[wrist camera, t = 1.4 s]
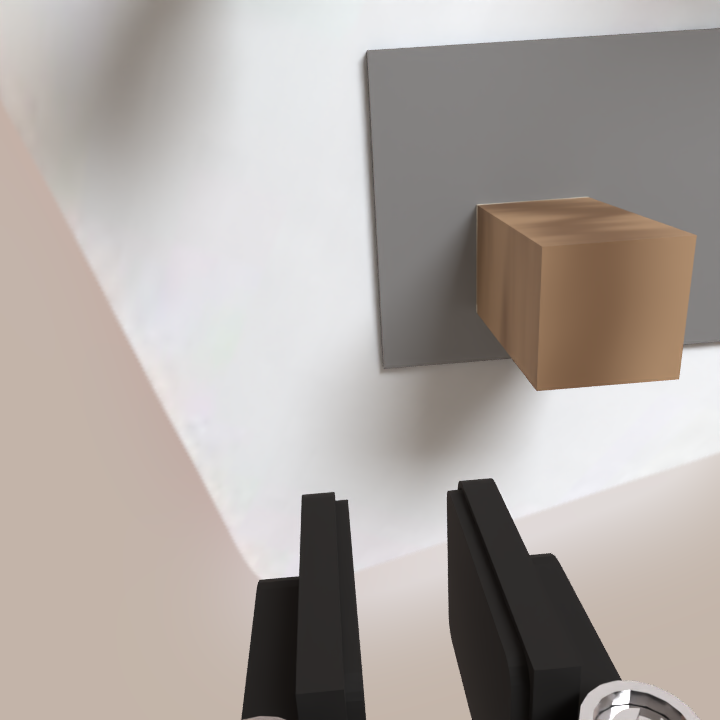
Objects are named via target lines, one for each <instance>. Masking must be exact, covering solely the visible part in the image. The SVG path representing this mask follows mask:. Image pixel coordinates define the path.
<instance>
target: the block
mask: <svg viewBox="0 0 720 720" xmlns="http://www.w3.org/2000/svg"><path fill="white" fill-rule="evenodd" d="M696 238H697V235H695V234H692V233H689V232H686V231H683V230H680V229H678V228H675V227H672V226H669V225H666V224H663V223H660V222H658V221H655V220H652V219H649V218H646V217H643V216H641V215H638V214H635V213H632V212H629V211H626V210H624V209H621V208H618V207H615V206H612V205H609V204H607V203H604V202H601V201H598V200H595V199H592V198H590V197H575V198H562V199H548V200H534V201H520V202H506V203H492V204H478V205H477V229H476V312H477V314H478V315H479V316H480V318H481V319H482V320H483V321H484V323H485V324H486V325H487V327H488V328H489V329H490V331H491V332H492V333H493V335H494V336H495V337H496V338H497V340H498V341H499V342H500V344H501V345H502V346H503V348H504V349H505V350H506V352H507V353H508V354H509V355H510V357H511V358H512V359H513V361H514V362H515V363H516V365H517V366H518V367H519V369H520V370H521V371H522V372H523V374H524V375H525V376H526V378H527V379H528V380H529V382H530V383H531V384H532V386H533V387H534V388H535V389H536V391H542V390H555V389H567V388H579V387H591V386H603V385H615V384H627V383H639V382H651V381H663V380H675V379H679V375H680V367H681V359H682V351H683V343H684V335H685V327H686V319H687V310H688V302H689V294H690V286H691V278H692V270H693V262H694V254H695V246H696Z"/></svg>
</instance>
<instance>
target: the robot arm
mask: <svg viewBox="0 0 720 720" xmlns="http://www.w3.org/2000/svg"><path fill="white" fill-rule="evenodd" d="M447 537H448V596H449V597H448V599H449V626H450V633H451V638H452V643H453V647H454V650H455V655H456V659H457V662H458V667H459V670H460V674H461V678H462V682H463V686H464V690H465V694H466V698H467V702H468V706H469V710H470V713H471V717H472V720H700V719H699V718H698V717H697V716H696V714H695V713H694V712H693V710H692V709H691V708H690V707H689V706H687V705H686V704H685V703H683V702H682V701H681V700H680V699H678V698H677V697H676V696H674V695H673V694H671V693H669V692H667V691H664V690H662V689H660V688H658V687H656V686H654V685H649V684H646V683H642V682H638V681H622V680H621V678H620V676H619V674H618V672H617V670H616V669H615V667H614V665H613V663H612V661H611V659H610V657H609V656H608V653H607V652H606V650H605V648H604V646H603V644H602V642H601V640H600V638H599V637H598V635H597V633H596V631H595V629H594V627H593V625H592V623H591V622H590V619H589V618H588V616H587V614H586V612H585V610H584V608H583V606H582V604H581V603H580V601H579V599H578V597H577V595H576V593H575V591H574V589H573V587H572V586H571V584H570V582H569V580H568V578H567V576H566V574H565V572H564V571H563V569H562V567H561V565H560V563H559V561H558V560H557V558H556V557H555V556H554V555H553V554H551V553H548V554H538V555H529V553H528V551H527V549H526V547H525V545H524V543H523V541H522V539H521V537H520V534H519V532H518V530H517V528H516V526H515V524H514V522H513V520H512V517H511V515H510V513H509V511H508V509H507V507H506V505H505V503H504V501H503V498H502V496H501V494H500V492H499V490H498V488H497V486H496V484H495V482H494V480H493V479H491V478H489V479H478V480H466V481H459V483H458V490H452V491H448V492H447ZM355 593H356V592H355V581H354V568H353V556H352V544H351V532H350V520H349V508H348V500H338V501H335V493H334V492H329V493H318V494H306V495H302V506H301V537H300V569H299V576H298V577H287V578H276V579H265V580H259V582H258V585H257V592H256V600H255V609H254V617H253V625H252V634H251V642H250V651H249V659H248V668H247V676H246V686H245V693H244V702H243V711H242V719H241V720H366V714H365V701H364V689H363V676H362V665H361V652H360V640H359V628H358V616H357V604H356V594H355Z"/></svg>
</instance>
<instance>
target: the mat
mask: <svg viewBox="0 0 720 720" xmlns="http://www.w3.org/2000/svg"><path fill="white" fill-rule="evenodd" d="M367 65H368V85H369V104H370V123H371V142H372V161H373V180H374V199H375V219H376V238H377V257H378V276H379V295H380V314H381V333H382V353H383V367H384V369H386V368H398V367H410V366H423V365H435V364H448V363H460V362H472V361H485V360H497V359H509V358H511V357H510V355H509V354H508V353H507V352H506V350H505V349H504V348H503V346H502V345H501V344H500V342H499V341H498V340H497V338H496V337H495V336H494V335H493V333H492V332H491V331H490V329H489V328H488V327H487V325H486V324H485V323H484V321H483V320H482V319H481V318H480V316H479V315H478V314H477V312H476V229H477V205H478V204H492V203H506V202H520V201H534V200H548V199H562V198H575V197H590V198H592V199H595V200H598V201H601V202H604V203H607V204H609V205H612V206H615V207H618V208H621V209H624V210H626V211H629V212H632V213H635V214H638V215H641V216H643V217H646V218H649V219H652V220H655V221H658V222H660V223H663V224H666V225H669V226H672V227H675V228H678V229H680V230H683V231H686V232H689V233H692V234H695V235H697V238H696V246H695V254H694V262H693V270H692V278H691V286H690V294H689V302H688V310H687V319H686V327H685V335H684V343H683V344H695V343H707V342H720V28H714V29H699V30H683V31H667V32H651V33H635V34H619V35H604V36H588V37H572V38H556V39H540V40H524V41H509V42H493V43H477V44H461V45H445V46H429V47H414V48H398V49H382V50H367Z"/></svg>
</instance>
